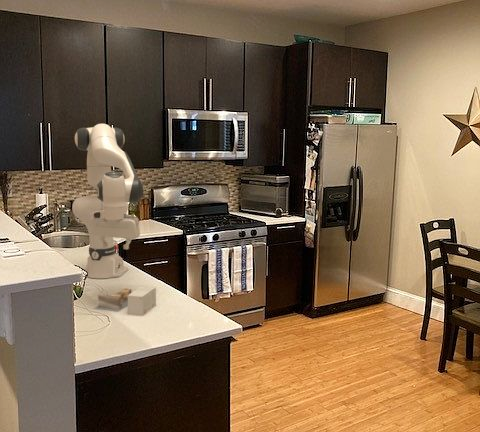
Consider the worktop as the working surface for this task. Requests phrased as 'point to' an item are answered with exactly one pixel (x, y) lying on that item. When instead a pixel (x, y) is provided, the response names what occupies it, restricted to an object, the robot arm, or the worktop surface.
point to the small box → (141, 300)
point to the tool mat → (124, 304)
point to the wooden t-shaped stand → (113, 299)
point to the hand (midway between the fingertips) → (115, 248)
